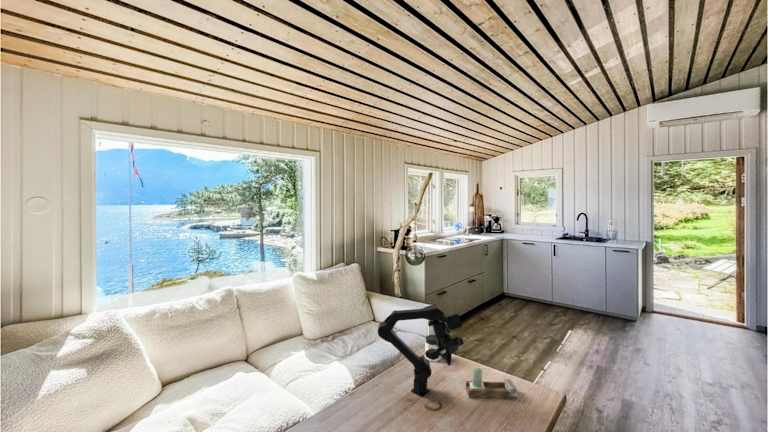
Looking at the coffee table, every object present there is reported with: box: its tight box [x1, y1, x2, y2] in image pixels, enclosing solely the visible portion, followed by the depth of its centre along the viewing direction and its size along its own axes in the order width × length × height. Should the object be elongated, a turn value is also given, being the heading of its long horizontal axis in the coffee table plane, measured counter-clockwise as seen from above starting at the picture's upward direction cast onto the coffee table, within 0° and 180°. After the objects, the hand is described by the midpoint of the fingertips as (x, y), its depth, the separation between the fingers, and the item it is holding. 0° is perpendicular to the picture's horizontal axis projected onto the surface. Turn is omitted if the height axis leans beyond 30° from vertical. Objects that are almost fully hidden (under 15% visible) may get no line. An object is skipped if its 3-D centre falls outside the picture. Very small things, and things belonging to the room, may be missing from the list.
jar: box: [424, 334, 442, 363], centre depth 182 cm, size 9×8×12 cm
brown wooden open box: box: [465, 378, 518, 401], centre depth 147 cm, size 21×8×5 cm, turn 86°
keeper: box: [470, 367, 485, 390], centre depth 147 cm, size 6×5×9 cm
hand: (449, 365), depth 148 cm, fingers closed
